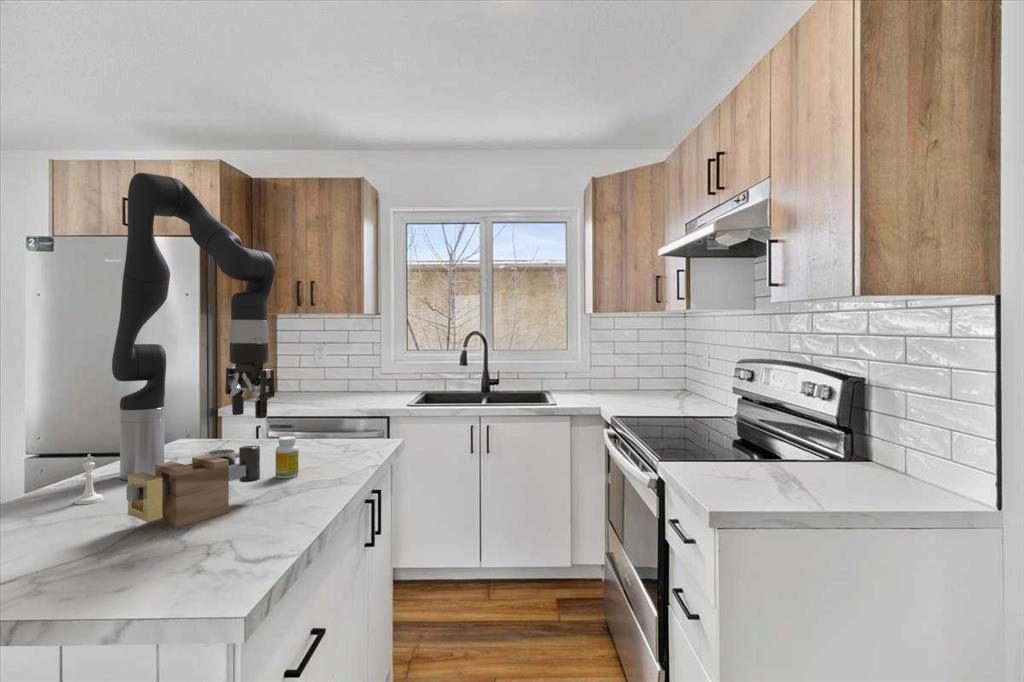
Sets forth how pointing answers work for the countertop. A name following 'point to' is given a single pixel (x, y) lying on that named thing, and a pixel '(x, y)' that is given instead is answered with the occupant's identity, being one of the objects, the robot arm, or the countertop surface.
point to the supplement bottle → (287, 458)
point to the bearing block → (194, 490)
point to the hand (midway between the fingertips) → (249, 416)
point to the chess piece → (89, 485)
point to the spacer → (146, 497)
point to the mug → (224, 455)
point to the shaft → (244, 471)
